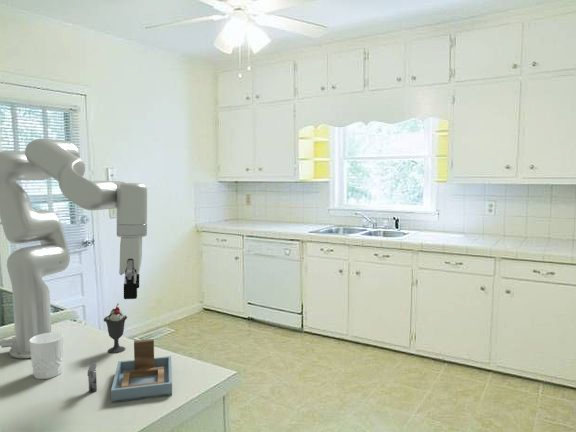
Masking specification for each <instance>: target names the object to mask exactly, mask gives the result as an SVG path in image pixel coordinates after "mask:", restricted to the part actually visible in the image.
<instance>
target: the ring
mask: <svg viewBox="0 0 576 432" xmlns="http://www.w3.org/2000/svg"><path fill="white" fill-rule="evenodd" d="M133 353H134V354H133V355H134V356H133V357H134V359H133V360H134V364H135V370H128V371H124V375H123V380H122V386H121V388H125V387H134V386H142V385H151V384H159V383H164V367H155V368H154V358H155V339H154V338H149V339H138V340H133ZM154 375H158V382H151V383H143V384H135V385H129V382H130V378H136V377H145V376H154Z"/></svg>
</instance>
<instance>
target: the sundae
mask: <svg viewBox="0 0 576 432" xmlns="http://www.w3.org/2000/svg"><path fill="white" fill-rule="evenodd" d="M119 304H120V303H117V304H116V306H115V308H112V310H111V311H110V313H109V315H107V316H105V317H104V318H103V321H104V322H105V323H106V326H107V332H108V336H109V337H110V338H111V339H112V340H113V342H114V344H113V346H112V347H110V348H109V349H108V350H107V352H108V353H110V354H119V352H120V353H121V352H124V351H125V350H126V347H125V346H121V345H120V344H119V339H120V338H121V337H122V336H123V335H124V330H125V323H126V320H127V318H128V316H127V315H126V314H124V313H123V311H122V310H121V308H120V307H119Z"/></svg>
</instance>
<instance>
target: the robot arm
mask: <svg viewBox="0 0 576 432" xmlns="http://www.w3.org/2000/svg"><path fill="white" fill-rule="evenodd" d="M85 172H86V164H85V162H84V160H82V158H81V157H80V150H79V149H78V147H77V146H76V145H75V144H74V143H72V142H70V141H68V140H61V139H51V138H37V139H33V140H31V141H30V142H28V144H26V146H25V149H24V151H20V150H19V151H17V150H6V151H5V150H4V151H3V150H2V151H0V222H1V226H2V229H3V230H2V231H3V233H4V235H5V236H4V237H5V238H6V240H7V241H8V242H9V243H11V244H15V245H16V244H17V245H19V244H28V243H36V242H40V245H38V244H37V245H31V246H28V247H27V246H26V247H22V248H19V249H16V250H14V251H13V252H11V253H10V254H9V256H8V257H7V260H6V268H7V272H8V276H9V279H10V283H11V291H12V302H13V303H12V304H13V306H12V307H13V321H14V322H13V323H14V324H13V325H14V337H13V336H12V338H0V347H1V348H9V349H10V350H9V356H10V357H12V358H14V359H15V358H16V359H31V351H30V342H29V340H30V339H31V338H32V337H34V336H37V335H40V334H44V333H52V315H51V314H52V313H51V312H52V311H51V295H50V290H49V287H48V285H47V284H46V283H45V281H44V280H43V277H46V276H49V275H53V274H54V275H55V274H57V273H61V272H64V271H65V270H67V268H68V267H69V264H70V262H71V255H70V250H69V246H68V243H67V239H66V236H65V232H64V229H63V228H64V227H63V225H62V222H61V220H60V217H59V216H58V215H57V214H56V213H55V212H53V211H51V210H46V209H41V210H39V209H38V210H34V209H33V208H34V207H32V203H31V200H30V197H29V195H28V193H27V192H26V190H25V189H24V188H23V187H22V186H21V185H20V184H18V182H17V181H44V180H48V179H51V178H52V179H54V180H56V181H57V182H58V186H59V189H60V191H61V193H62V195H63V196H64V198H66V199H67V200H69V202H71V203H73V204H75V205H76V206H77V207H79V208H81V209H84V210H87V211H102V210H114V209H116V237H119V238H120V240H119V241H120V244H119V272H118V273H119V275H121V276H123V274H124V283H123V299H124V300H136V299H137V298H138V289H139V288H140V273H141V267H142V259H143V258H142V256H143V238H144V237H147V235H148V188H147V186H146V185H145V184H143V183H139V182H138V183H137V182H124V181H120V180H94V181H93V180H90V179H87V178H85V177H84V175H85Z"/></svg>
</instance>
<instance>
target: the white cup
mask: <svg viewBox="0 0 576 432" xmlns="http://www.w3.org/2000/svg"><path fill="white" fill-rule="evenodd" d="M51 332H52V331H51ZM29 342H30V351H31V358H30V359H31V366H32V373H33V374H32V375H33V378H34V379H37V380H48V379H51V378H52V379H53V378H54V377H57V376H59V375H60V374H62V373H63V362H64V334H63V333H61V332H56V331H55V332H52V333H44V334H40V335H37V336H34V337H32V338H31V339H30V340H29Z"/></svg>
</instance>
